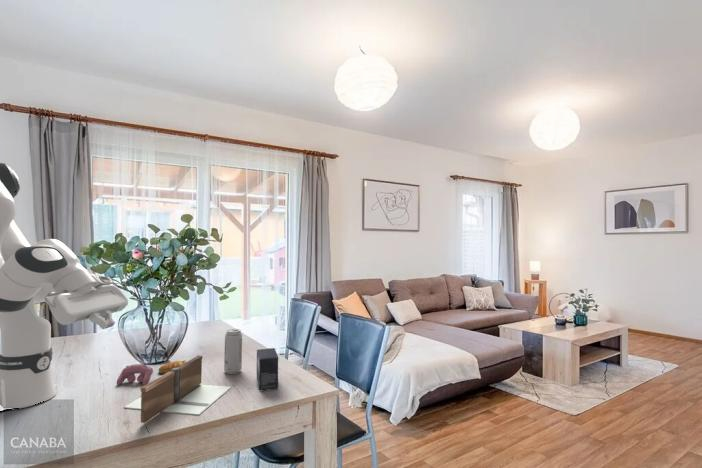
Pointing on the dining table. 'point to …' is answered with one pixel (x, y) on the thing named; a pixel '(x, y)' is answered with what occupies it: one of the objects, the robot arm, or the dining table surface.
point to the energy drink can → (233, 351)
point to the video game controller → (132, 370)
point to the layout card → (191, 400)
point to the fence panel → (157, 396)
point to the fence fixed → (187, 377)
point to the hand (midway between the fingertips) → (109, 326)
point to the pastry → (170, 366)
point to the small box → (267, 369)
